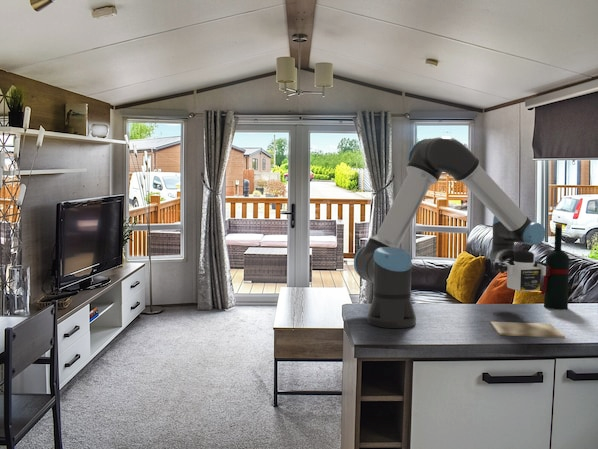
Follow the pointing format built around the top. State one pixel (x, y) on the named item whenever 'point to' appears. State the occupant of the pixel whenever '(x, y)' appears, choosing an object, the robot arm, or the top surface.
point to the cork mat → (526, 329)
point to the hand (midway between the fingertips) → (527, 270)
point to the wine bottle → (556, 276)
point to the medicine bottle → (524, 273)
